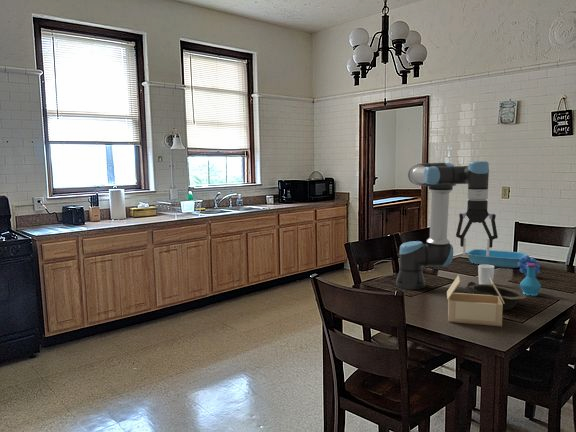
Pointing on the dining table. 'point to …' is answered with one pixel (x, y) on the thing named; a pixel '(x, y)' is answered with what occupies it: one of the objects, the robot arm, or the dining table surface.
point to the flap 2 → (496, 290)
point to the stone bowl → (507, 294)
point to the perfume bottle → (530, 281)
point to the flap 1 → (453, 287)
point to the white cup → (485, 273)
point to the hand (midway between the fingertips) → (475, 254)
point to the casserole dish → (495, 258)
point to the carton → (475, 309)
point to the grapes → (524, 267)
